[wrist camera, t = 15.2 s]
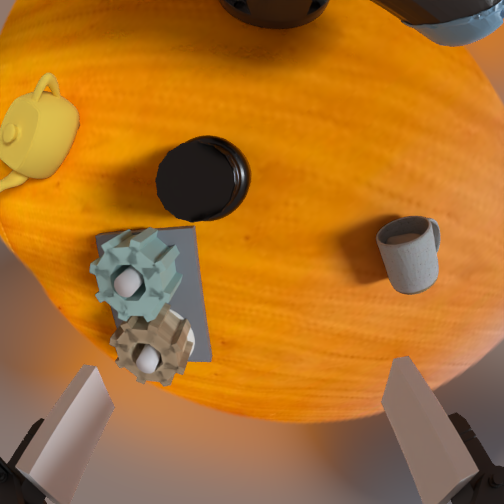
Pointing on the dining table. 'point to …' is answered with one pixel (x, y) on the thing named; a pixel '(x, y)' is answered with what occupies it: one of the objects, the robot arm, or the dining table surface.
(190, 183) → the ink bottle
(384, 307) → the dining table surface
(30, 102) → the teapot
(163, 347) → the birch gear
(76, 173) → the dining table surface
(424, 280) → the ceramic mug
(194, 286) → the gear board
